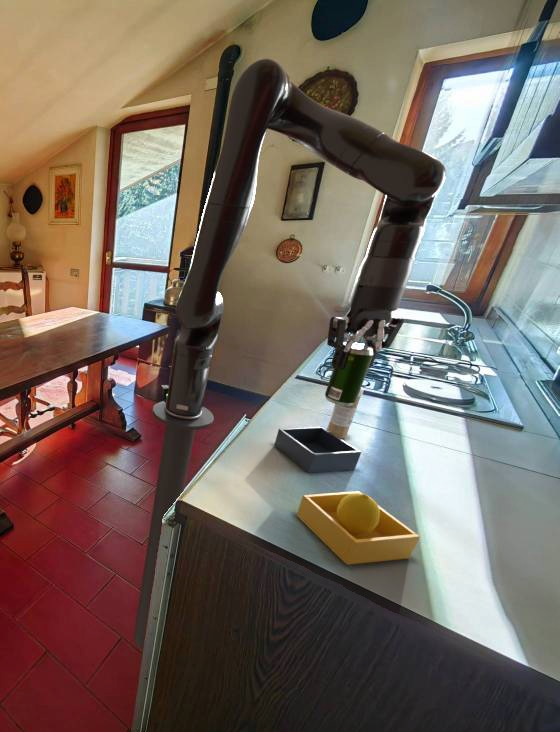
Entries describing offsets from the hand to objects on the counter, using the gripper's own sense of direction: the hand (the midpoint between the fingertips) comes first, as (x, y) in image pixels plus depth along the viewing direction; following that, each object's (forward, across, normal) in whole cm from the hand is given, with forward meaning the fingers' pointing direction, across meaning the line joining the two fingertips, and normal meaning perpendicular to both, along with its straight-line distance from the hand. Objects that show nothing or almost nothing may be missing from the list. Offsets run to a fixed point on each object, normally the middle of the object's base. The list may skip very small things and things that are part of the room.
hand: (350, 367), depth 78 cm
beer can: (+8, 0, 0) cm, 8 cm away
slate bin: (+23, 0, -2) cm, 23 cm away
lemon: (+22, +12, +21) cm, 33 cm away
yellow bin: (+23, +12, +21) cm, 33 cm away
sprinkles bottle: (+23, -14, -11) cm, 29 cm away
